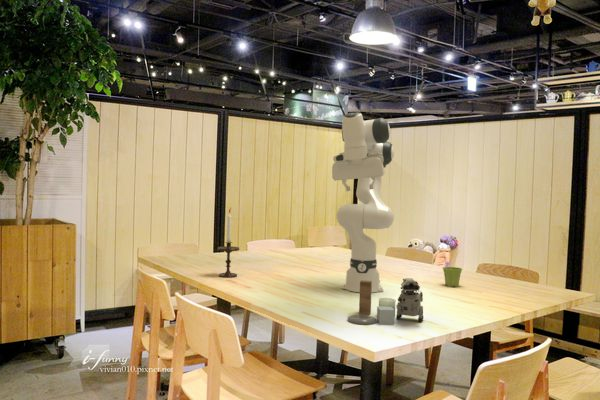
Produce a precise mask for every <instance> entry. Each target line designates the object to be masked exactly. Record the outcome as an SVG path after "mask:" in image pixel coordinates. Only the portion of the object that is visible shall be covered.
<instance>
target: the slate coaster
mask: <svg viewBox="0 0 600 400" xmlns="http://www.w3.org/2000/svg"><path fill="white" fill-rule="evenodd" d="M347 321H348V322H349V323H351V324H354V325H361V326H369V325H375V324H377V322H378V321H377V317H374V316H372V315H361V314H354V315H349V316H347Z"/></svg>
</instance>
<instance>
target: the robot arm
mask: <svg viewBox="0 0 600 400" xmlns="http://www.w3.org/2000/svg"><path fill="white" fill-rule="evenodd" d="M341 119H342V122H341V123H342V124H341V138H342V141H343V142H344V145H343V152H341V153H338V154H336V155H334V156H333V157H332V160H333V162H334V163H332V167H331V169H332V170H331V173H332V174H331V175H332V176H331V177H332V180H334V181H335V182H336V181H341V184H342V185H343V186H344V188H345V192H351V186H350V185H349V186H348V184H347V182H348V181H347V180H355V179H358V180H357V187H356V193H355V195H356V198H357V199H358V201H360V202H361V203H360V204H357V203H349V204H342V205H341V206H340V207H339V208H337V212H336V220H337V223H338V224H339V226H341V227H342V228H343V229H344V230H345V231H346V233H347V234H348V237H349V239H350V247H351V249H350V250H351V254H350V255H351V258H349V259H350V261H349V268H348V269H347V270H346V274H345V275H346V277H345V278H346V279H345V284H344V285H342V287H341V289H343V290H347V291H349V292H354V293H360V281H361V280H369V281H372V292H371V294H372V293H378V292H379V293H380V292H384V288H383V286H382V285H381V280H380V272H379V271H378V269H377V265H378V262H377V243H376V241H375V240H374V239H373V238H372V237H371V236H368V235H366V233H365V232H364V229H365V230H367V229H368V230H383V229H389V228H390V227H391V226H392V225H393V222H394V219H395V218H394V217H395V216H394V212H393V210H392V209H391V207H390V206H388V205H387V204H385V202H384V201H383V200H382V197H381V188H382V177H383V176H384V175H385V168H387V166H388V165H389V164H390V163H392V161H393V159H394V157H395V156H394V155H395V149H394V146H393V143H392V142H389V141H388V140H389V139H390V137H391V128H390V124H389V122H388V121H387V119H385V118H383V117H379V118H374V119H367V120H364V116H363V114H362V113H361V112H349V113H346V114H344V115H342V118H341Z"/></svg>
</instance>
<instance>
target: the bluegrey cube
mask: <svg viewBox="0 0 600 400" xmlns="http://www.w3.org/2000/svg"><path fill="white" fill-rule="evenodd" d="M376 307H377V308H376V319H377V322H378V324H379V325H395V317H394V314H395V315H396V309H395V310H394V309H393V308H392V307H382V306H379V305H378V306H376Z"/></svg>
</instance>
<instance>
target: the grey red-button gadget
mask: <svg viewBox="0 0 600 400" xmlns="http://www.w3.org/2000/svg"><path fill="white" fill-rule="evenodd" d="M400 285H401V286H400V295H399V296H398V298H397V304H395V309H396V314H395V319H396V320H400V319H401V318H402V317H403V316H406V317H418V318H417V322H418V323H423V321H424V307H423V305H421V303H422V302H424V301H423V299H424V297H423V292H422V291H420V288H421V286H420V284H419V282H418V281H417V280H414V278H412V277H411V278H410V277H407V278H402V283H401V284H400Z"/></svg>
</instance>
